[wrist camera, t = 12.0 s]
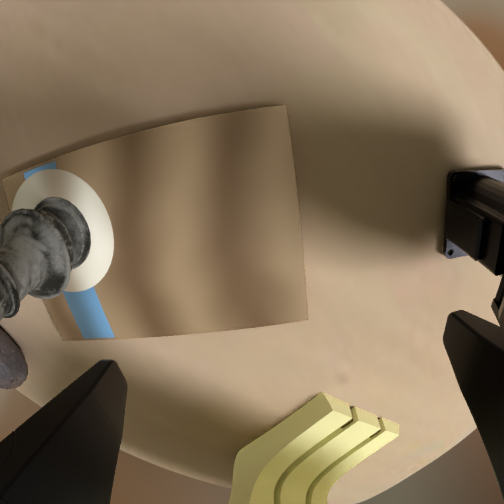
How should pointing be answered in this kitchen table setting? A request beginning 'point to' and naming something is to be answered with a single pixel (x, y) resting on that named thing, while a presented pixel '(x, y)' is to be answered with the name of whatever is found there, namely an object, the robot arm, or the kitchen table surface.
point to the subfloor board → (179, 228)
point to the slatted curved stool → (307, 453)
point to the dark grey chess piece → (40, 251)
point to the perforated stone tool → (11, 363)
